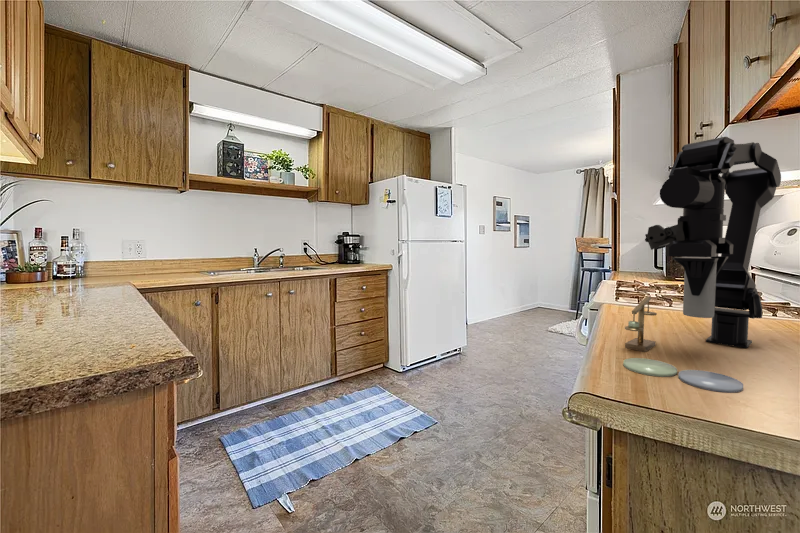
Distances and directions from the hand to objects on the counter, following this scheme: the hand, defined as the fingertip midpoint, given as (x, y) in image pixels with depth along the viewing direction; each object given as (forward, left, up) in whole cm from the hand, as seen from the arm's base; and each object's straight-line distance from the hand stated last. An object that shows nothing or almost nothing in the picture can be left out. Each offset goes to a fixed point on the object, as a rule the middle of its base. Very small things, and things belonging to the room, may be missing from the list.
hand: (699, 294), depth 67 cm
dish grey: (+14, +4, -12) cm, 19 cm away
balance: (+1, -9, -12) cm, 15 cm away
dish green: (+14, -4, -12) cm, 19 cm away
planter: (0, 0, -4) cm, 4 cm away
